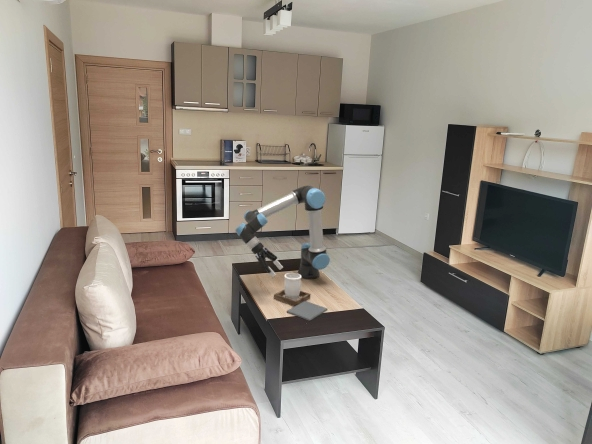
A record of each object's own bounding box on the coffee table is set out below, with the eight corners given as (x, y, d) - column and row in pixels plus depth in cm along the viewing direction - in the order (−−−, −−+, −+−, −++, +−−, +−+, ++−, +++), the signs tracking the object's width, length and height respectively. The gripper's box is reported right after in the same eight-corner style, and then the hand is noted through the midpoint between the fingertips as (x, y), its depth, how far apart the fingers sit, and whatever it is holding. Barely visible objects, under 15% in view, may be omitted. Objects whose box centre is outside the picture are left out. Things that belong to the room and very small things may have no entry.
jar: (298, 303, 271) (299, 279, 267) (281, 301, 273) (282, 277, 269) (302, 296, 281) (303, 273, 278) (285, 294, 283) (286, 271, 280)
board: (305, 302, 273) (305, 300, 273) (327, 310, 264) (327, 308, 264) (286, 312, 259) (286, 310, 259) (309, 320, 250) (309, 319, 250)
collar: (289, 291, 288) (289, 286, 287) (310, 298, 279) (310, 293, 278) (273, 298, 276) (273, 294, 275) (295, 306, 267) (295, 301, 266)
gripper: (258, 243, 289) (280, 269, 288) (243, 255, 265) (266, 283, 265) (266, 236, 286) (288, 262, 286) (251, 247, 263) (275, 275, 262)
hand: (278, 272), depth 275 cm, fingers open, 13 cm apart
